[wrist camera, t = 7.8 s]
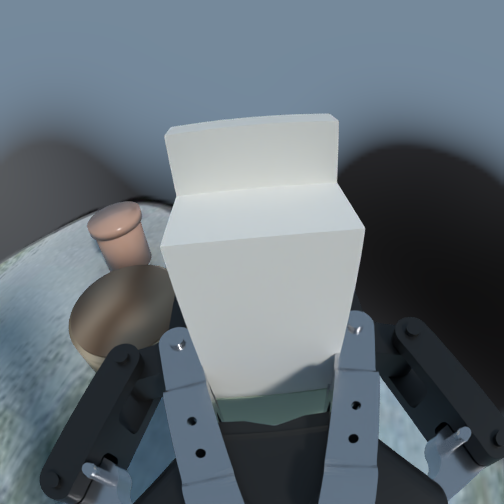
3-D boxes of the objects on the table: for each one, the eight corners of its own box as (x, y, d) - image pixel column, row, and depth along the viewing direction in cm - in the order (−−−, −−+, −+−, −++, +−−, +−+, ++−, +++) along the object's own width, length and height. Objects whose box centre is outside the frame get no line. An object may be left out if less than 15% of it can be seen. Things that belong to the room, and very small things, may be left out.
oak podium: (73, 381, 28) (50, 355, 25) (104, 294, 39) (90, 266, 36) (191, 388, 28) (176, 361, 24) (201, 288, 39) (193, 257, 36)
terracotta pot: (99, 280, 41) (78, 236, 37) (115, 247, 48) (99, 205, 43) (148, 277, 41) (130, 229, 36) (159, 242, 48) (146, 198, 43)
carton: (234, 443, 13) (135, 172, 5) (232, 361, 17) (182, 110, 9) (317, 435, 13) (377, 151, 5) (303, 354, 17) (312, 99, 9)
